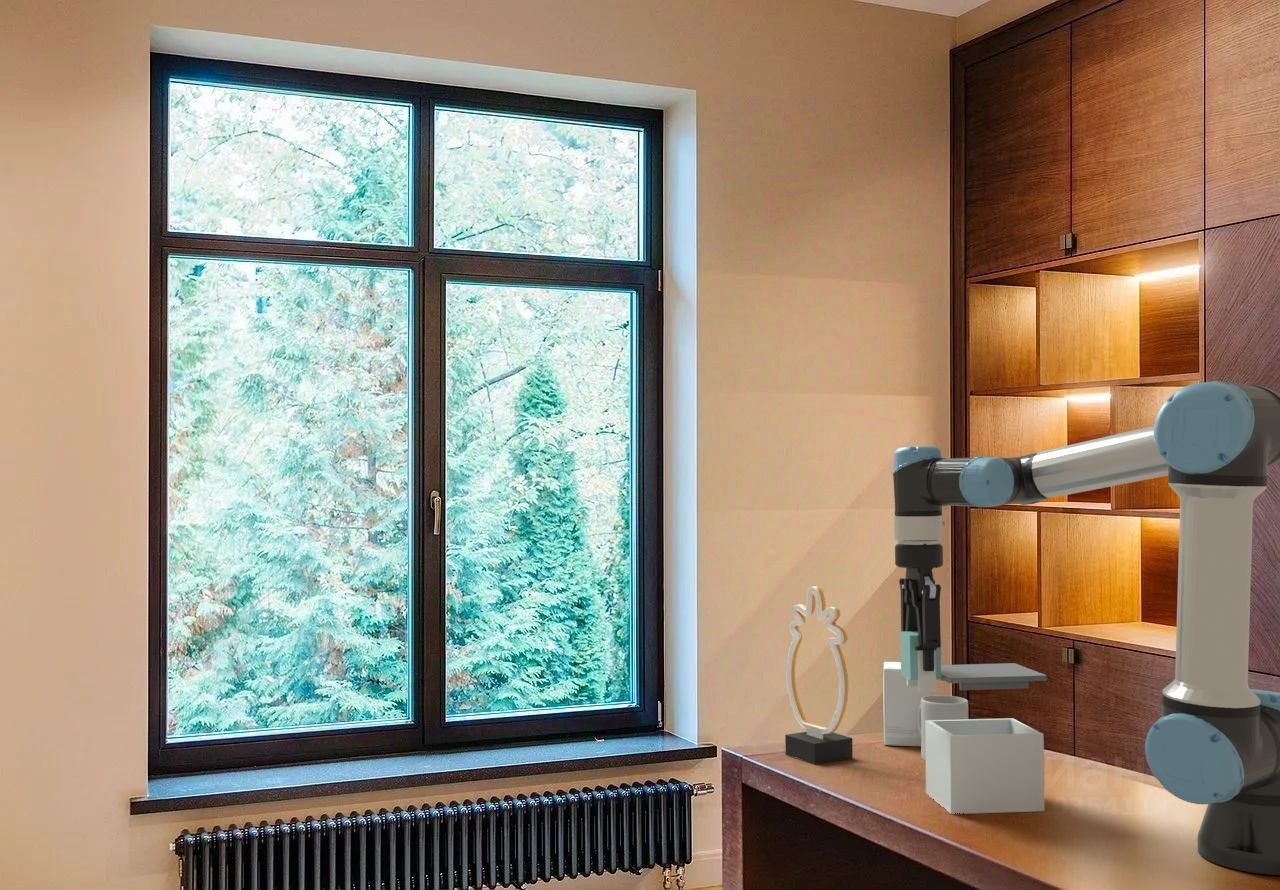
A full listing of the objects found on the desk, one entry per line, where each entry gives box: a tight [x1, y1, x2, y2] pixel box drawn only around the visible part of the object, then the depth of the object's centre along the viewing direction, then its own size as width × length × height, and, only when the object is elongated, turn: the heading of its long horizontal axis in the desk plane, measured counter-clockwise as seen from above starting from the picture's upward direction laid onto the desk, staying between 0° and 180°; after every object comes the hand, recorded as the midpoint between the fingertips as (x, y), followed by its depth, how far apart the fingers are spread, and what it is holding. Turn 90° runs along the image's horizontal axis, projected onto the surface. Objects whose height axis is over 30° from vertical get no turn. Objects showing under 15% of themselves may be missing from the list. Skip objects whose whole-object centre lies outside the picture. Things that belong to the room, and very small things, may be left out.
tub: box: [925, 717, 1045, 815], centre depth 195 cm, size 12×15×12 cm
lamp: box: [785, 585, 854, 765], centre depth 227 cm, size 17×9×32 cm, turn 30°
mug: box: [918, 694, 969, 762], centre depth 225 cm, size 12×8×11 cm
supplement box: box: [882, 661, 931, 748], centre depth 238 cm, size 9×9×15 cm
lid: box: [899, 631, 1048, 691], centre depth 195 cm, size 13×21×8 cm, turn 95°
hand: (921, 687), depth 194 cm, fingers closed on lid, 5 cm apart
